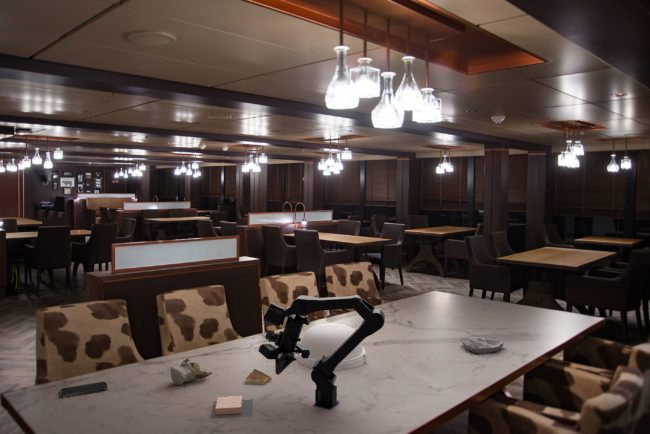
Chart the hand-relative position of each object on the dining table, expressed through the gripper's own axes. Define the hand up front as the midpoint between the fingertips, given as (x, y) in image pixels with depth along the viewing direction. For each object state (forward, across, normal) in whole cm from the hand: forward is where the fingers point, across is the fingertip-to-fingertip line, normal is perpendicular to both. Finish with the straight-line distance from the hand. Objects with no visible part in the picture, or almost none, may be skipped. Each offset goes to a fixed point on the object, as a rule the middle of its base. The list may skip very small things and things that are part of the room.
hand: (277, 374), depth 170 cm
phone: (+32, +41, -48) cm, 71 cm away
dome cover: (+5, -46, -18) cm, 50 cm away
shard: (+14, -8, -18) cm, 24 cm away
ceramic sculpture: (+22, +10, -33) cm, 41 cm away
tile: (+11, +10, -1) cm, 15 cm away
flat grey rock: (-16, -104, +15) cm, 106 cm away
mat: (+13, +12, -2) cm, 18 cm away
